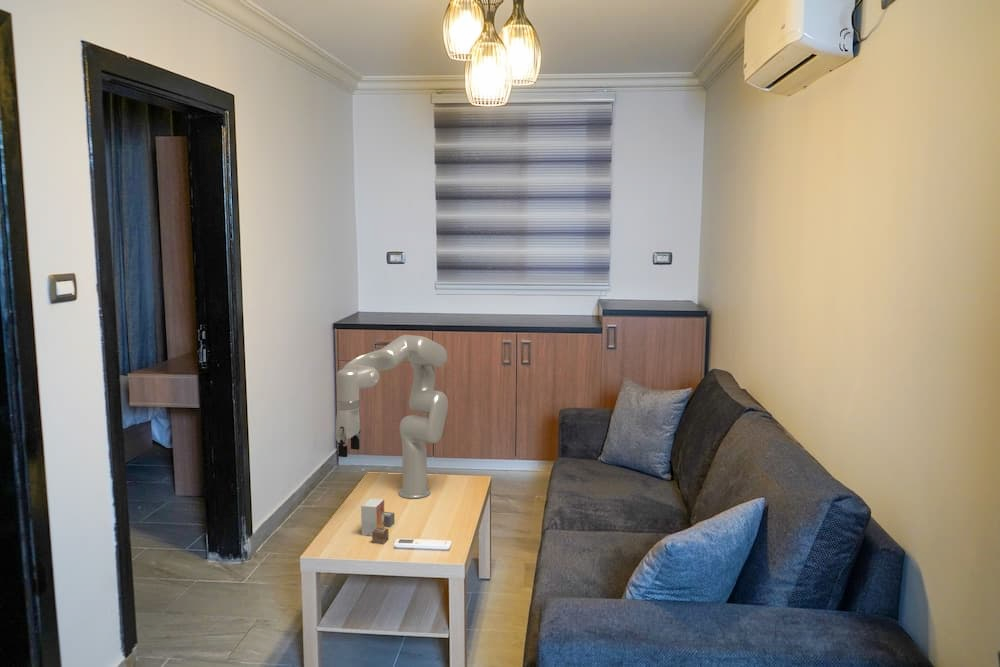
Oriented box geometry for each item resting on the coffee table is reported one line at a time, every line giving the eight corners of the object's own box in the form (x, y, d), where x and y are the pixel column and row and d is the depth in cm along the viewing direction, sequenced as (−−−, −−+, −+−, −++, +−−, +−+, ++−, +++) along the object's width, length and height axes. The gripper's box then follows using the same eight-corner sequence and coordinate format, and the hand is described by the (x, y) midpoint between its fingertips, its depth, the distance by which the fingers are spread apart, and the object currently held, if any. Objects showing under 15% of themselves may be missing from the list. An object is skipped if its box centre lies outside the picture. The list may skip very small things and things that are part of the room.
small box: (376, 536, 254) (376, 507, 253) (361, 535, 256) (360, 505, 254) (384, 527, 262) (384, 499, 261) (369, 526, 263) (369, 497, 262)
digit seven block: (377, 538, 253) (377, 526, 252) (388, 540, 252) (388, 528, 251) (372, 543, 249) (372, 531, 249) (383, 544, 248) (383, 532, 248)
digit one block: (384, 522, 267) (384, 511, 267) (394, 523, 266) (394, 512, 266) (379, 526, 264) (379, 515, 263) (389, 527, 263) (389, 516, 262)
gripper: (349, 398, 269) (350, 445, 271) (326, 409, 252) (327, 459, 255) (369, 400, 267) (369, 447, 269) (346, 411, 250) (347, 461, 253)
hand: (349, 452), depth 262 cm, fingers open, 8 cm apart
